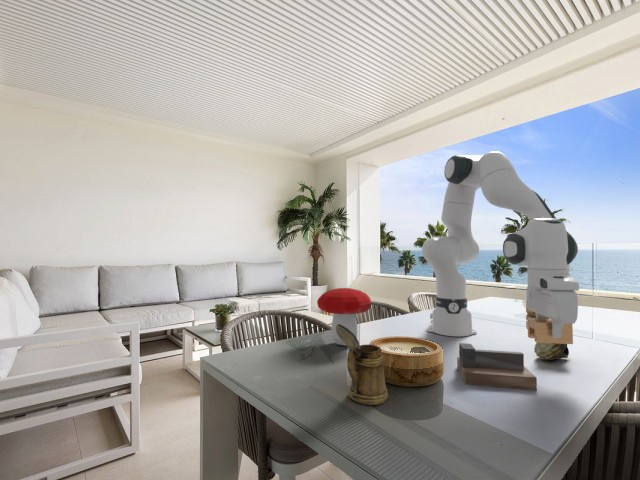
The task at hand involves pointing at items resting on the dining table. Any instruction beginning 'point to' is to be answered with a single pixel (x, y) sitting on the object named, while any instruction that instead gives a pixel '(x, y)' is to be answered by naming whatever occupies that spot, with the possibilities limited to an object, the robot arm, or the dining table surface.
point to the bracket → (494, 368)
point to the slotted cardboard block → (548, 331)
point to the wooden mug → (364, 370)
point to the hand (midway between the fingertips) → (549, 334)
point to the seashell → (551, 351)
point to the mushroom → (344, 308)
